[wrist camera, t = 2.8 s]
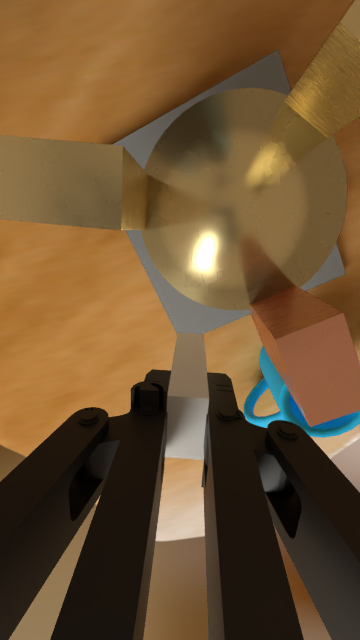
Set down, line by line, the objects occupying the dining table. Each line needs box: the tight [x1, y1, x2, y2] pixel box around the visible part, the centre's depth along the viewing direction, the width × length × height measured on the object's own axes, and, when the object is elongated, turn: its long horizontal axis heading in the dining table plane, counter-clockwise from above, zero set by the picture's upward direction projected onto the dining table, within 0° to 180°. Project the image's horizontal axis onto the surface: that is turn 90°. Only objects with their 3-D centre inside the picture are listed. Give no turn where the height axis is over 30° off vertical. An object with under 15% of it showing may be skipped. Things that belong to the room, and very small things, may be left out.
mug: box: [244, 346, 360, 437], centre depth 29 cm, size 12×8×8 cm
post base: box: [112, 50, 346, 334], centre depth 24 cm, size 20×20×9 cm
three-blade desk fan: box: [0, 0, 360, 427], centre depth 16 cm, size 17×20×9 cm
